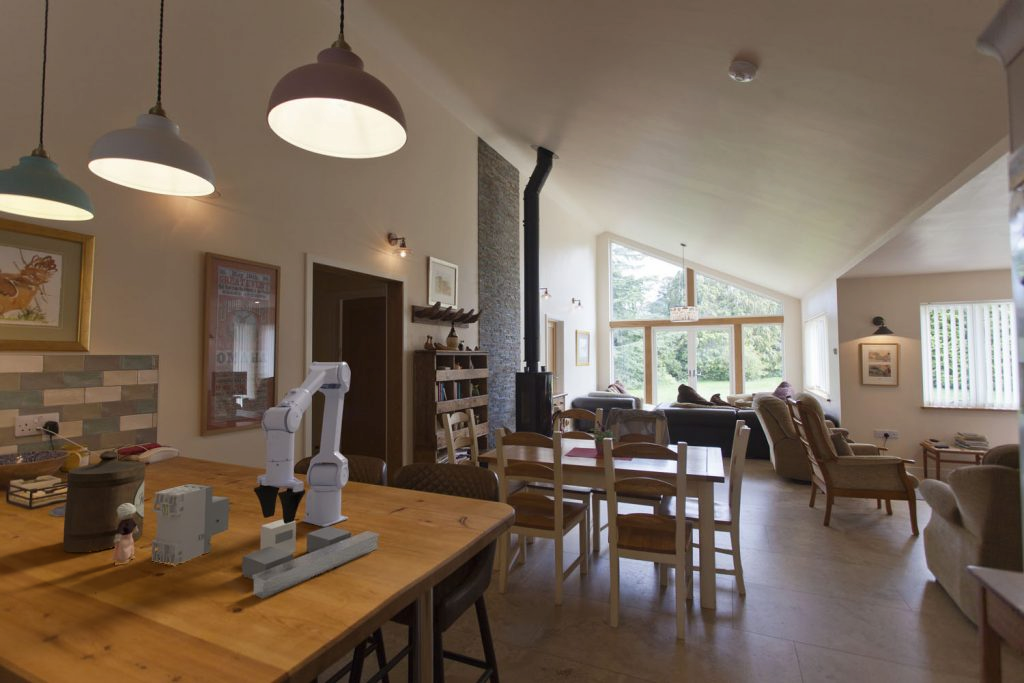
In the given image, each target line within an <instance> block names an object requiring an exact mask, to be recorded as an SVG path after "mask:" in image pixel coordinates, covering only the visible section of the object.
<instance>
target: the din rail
mask: <svg viewBox="0 0 1024 683" xmlns="http://www.w3.org/2000/svg"><path fill="white" fill-rule="evenodd" d="M378 537H380V533H377V532H373V531H369V530H366V531H363V532H361V533H358V534H355V535H353V536H351V537H350V538H348V539H345V540H342V541H340V542H337V543H335V544H332V545H329V546H327V547H324V548H322V549H319V550H317V551H314V552H308V553H306V554H304V555H301V556H299V557H297V558H296V557H295V558H293V560H291V561H288V562H286V563H283V564H280V565H278V566H275V567H273V568H270V569H267V570H265V571H262V572H260V573H257V574H254V575H252V578H254V580H253V594H254V595H253V596H255V595H256V596H255V597H257V596H258V597H257V598H259V597H260V598H259V599H262V600H264V599H265V598H268V597H270V596H273V595H275V594H277V593H279V592H282V591H284V590H286V588H287V589H289V588H291V587H294V586H296V585H298V584H300V583H303V582H305V581H307V580H309V579H312V578H313V576H314V577H316V576H319V575H321V574H323V573H325V572H328V571H330V570H332V569H335V568H337V567H339V566H341V565H343V564H346V563H348V562H349V561H352V560H355V559H358V558H359V557H362V556H364V555H366V554H368V553H370V552H373V551H375V550H378ZM334 567H335V568H334ZM327 570H328V571H327ZM322 572H323V573H322ZM320 573H321V574H320ZM318 574H319V575H318ZM315 575H316V576H315ZM311 577H312V578H311ZM302 581H303V582H302Z"/></svg>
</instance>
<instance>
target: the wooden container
mask: <svg viewBox="0 0 1024 683" xmlns="http://www.w3.org/2000/svg"><path fill="white" fill-rule="evenodd" d="M118 457H119V455H118V453H117V452H116V451H115V450H105V451H104V452H102V453H101V454H99V458H100V459H101V460H100V461H99V462H98V463H95V464H88V465H83V466H79V467H78V466H77V467H74V468H72V469H70V470H68V474H67V487H66V498H65V509H64V520H63V521H64V522H63V539H62V541H63V542H62V543H63V544H62V550H63V551H64V550H65V551H64V552H67V553H71V552H87V553H90V552H89V551H96V552H98V551H97V550H102V549H107V548H110V547H115V545H116V543H114V540H115V536H116V531H117V529H118V525H119V523H120V522H121V521H122V520H120V519H119V518H118V512H117V509H118V507H119V506H120V505H122V504H125V503H130V504H132V505H134V506H135V508H136V512H135V513H134V514H133V515H132V517H131V518H133V520H134V521H135V523H136V524H137V529H138V532H137V533H132V538H133V542H135V541H137V540H139V539H140V538H141V537H143V530H144V529H143V528H144V512H145V476H146V462H144V461H136V460H135V461H134V460H133V461H132V460H129V461H128V460H127V461H119V459H117V458H118ZM138 538H139V539H138ZM134 540H135V541H134ZM107 550H108V549H107ZM102 551H103V550H102Z"/></svg>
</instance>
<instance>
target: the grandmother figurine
mask: <svg viewBox="0 0 1024 683" xmlns="http://www.w3.org/2000/svg"><path fill="white" fill-rule="evenodd" d="M117 512H118V518H119V519H120V520H122V521H121V522H120V523H119V525H118V529H117V531H116V536H115V540H114V543H116V545H115V548H113V549H114V550H113V555H112V561H115V562H114V563H125V562H129V561H130V562H131V560H128V559H132V558H135V559H136V557H135V556H134V554H135V546H134V545H135V544H134V542H135V541H133V538H132V533H137V532H138V529H137V524H136V523H135V521H134V520H133V518H131V517H132V515H133V514H134V513H135V512H136V508H135V506H134V505H132V504H130V503H125V504H122V505H120V506H119V507H118V509H117Z"/></svg>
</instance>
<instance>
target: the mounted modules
mask: <svg viewBox="0 0 1024 683" xmlns="http://www.w3.org/2000/svg"><path fill="white" fill-rule="evenodd" d="M350 537H352V531H348V530H345V529H342V528H337V527H333V526H331V525H329V526H326V527H322V528H320V529H317V530H314V531H311V532H309V533H306V552H308V553H311V552H314V551H317V550H319V549H322V548H324V547H327V546H329V545H332V544H335V543H337V542H340V541H342V540H345V539H348V538H350ZM293 559H294V553H289V552H286V551H283V550H280V549H277V548H274V547H271V546H270V547H267V548H264V549H261V550H260V549H258V550H256V551H252V552H250V553H247V554H244V555H242V558H241V560H242V561H241V564H242V565H241V576H242V575H244V576H246V577H248V578H247V579H249V578H250V579H249V580H251V579H252V581H254V578H252V575H254V574H257V573H260V572H262V571H265V570H267V569H270V568H273V567H275V566H278V565H280V564H283V563H286V562H288V561H291V560H293ZM244 576H243V577H244ZM246 577H245V578H246Z"/></svg>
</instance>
